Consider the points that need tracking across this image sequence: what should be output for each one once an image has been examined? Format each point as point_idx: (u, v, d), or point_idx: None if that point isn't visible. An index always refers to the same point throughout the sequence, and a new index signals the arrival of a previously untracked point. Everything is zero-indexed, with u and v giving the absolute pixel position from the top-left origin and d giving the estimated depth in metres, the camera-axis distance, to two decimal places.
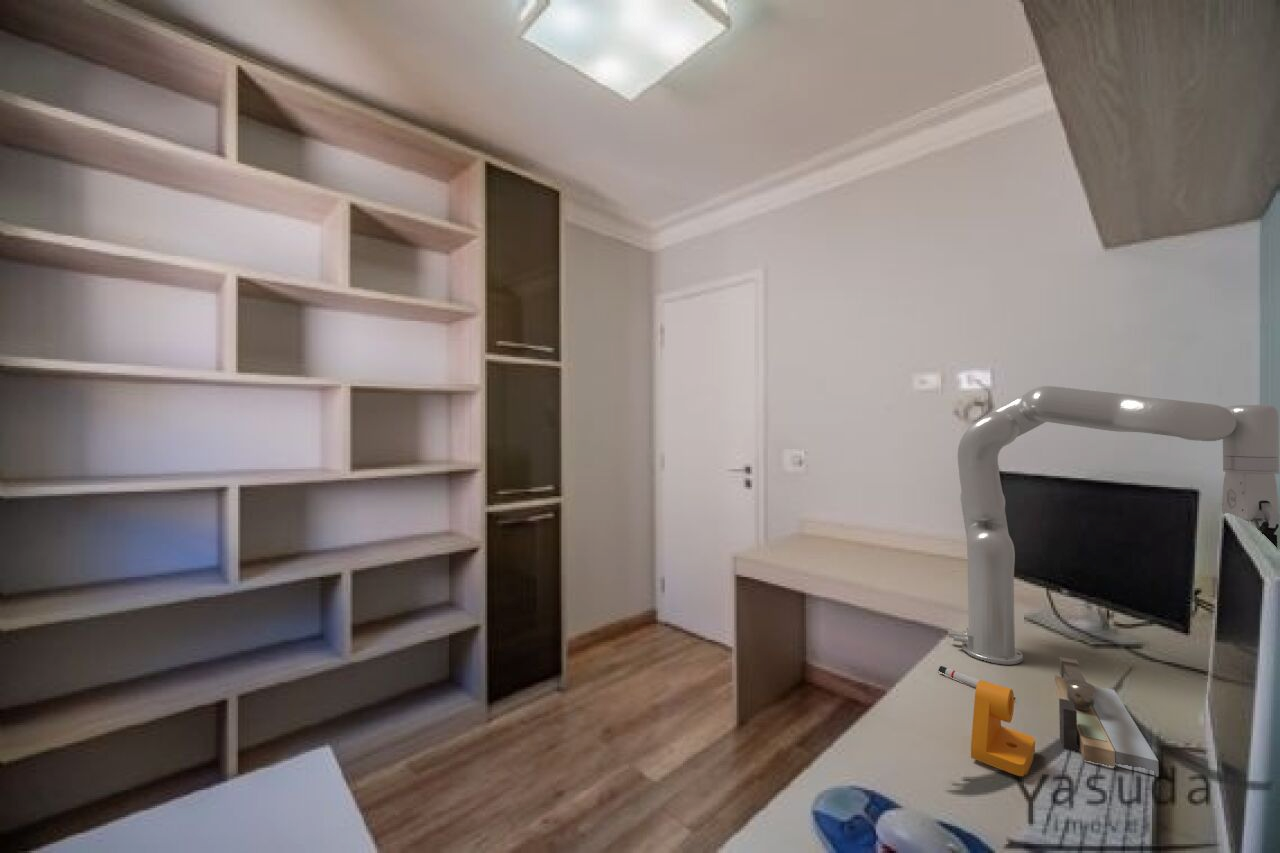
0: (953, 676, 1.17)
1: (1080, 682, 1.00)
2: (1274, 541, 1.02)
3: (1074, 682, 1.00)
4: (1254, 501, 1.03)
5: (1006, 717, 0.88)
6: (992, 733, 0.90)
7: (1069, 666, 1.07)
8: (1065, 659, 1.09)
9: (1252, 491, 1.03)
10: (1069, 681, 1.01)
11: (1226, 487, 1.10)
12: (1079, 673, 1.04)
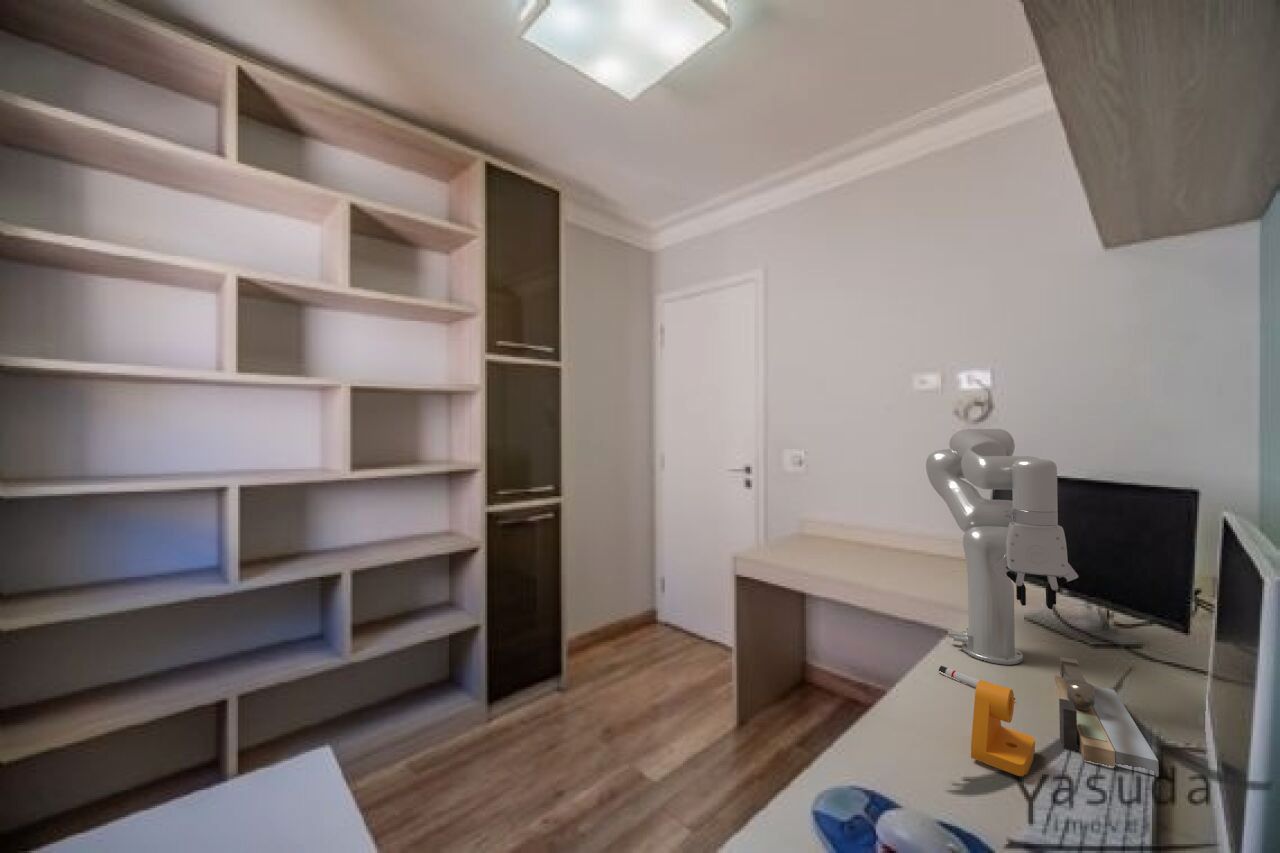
0: (953, 676, 1.17)
1: (1080, 682, 1.00)
2: None
3: (1074, 682, 1.00)
4: None
5: (1006, 717, 0.88)
6: (992, 733, 0.90)
7: (1069, 666, 1.07)
8: (1065, 659, 1.09)
9: None
10: (1069, 681, 1.01)
11: (1024, 543, 1.08)
12: (1079, 673, 1.04)
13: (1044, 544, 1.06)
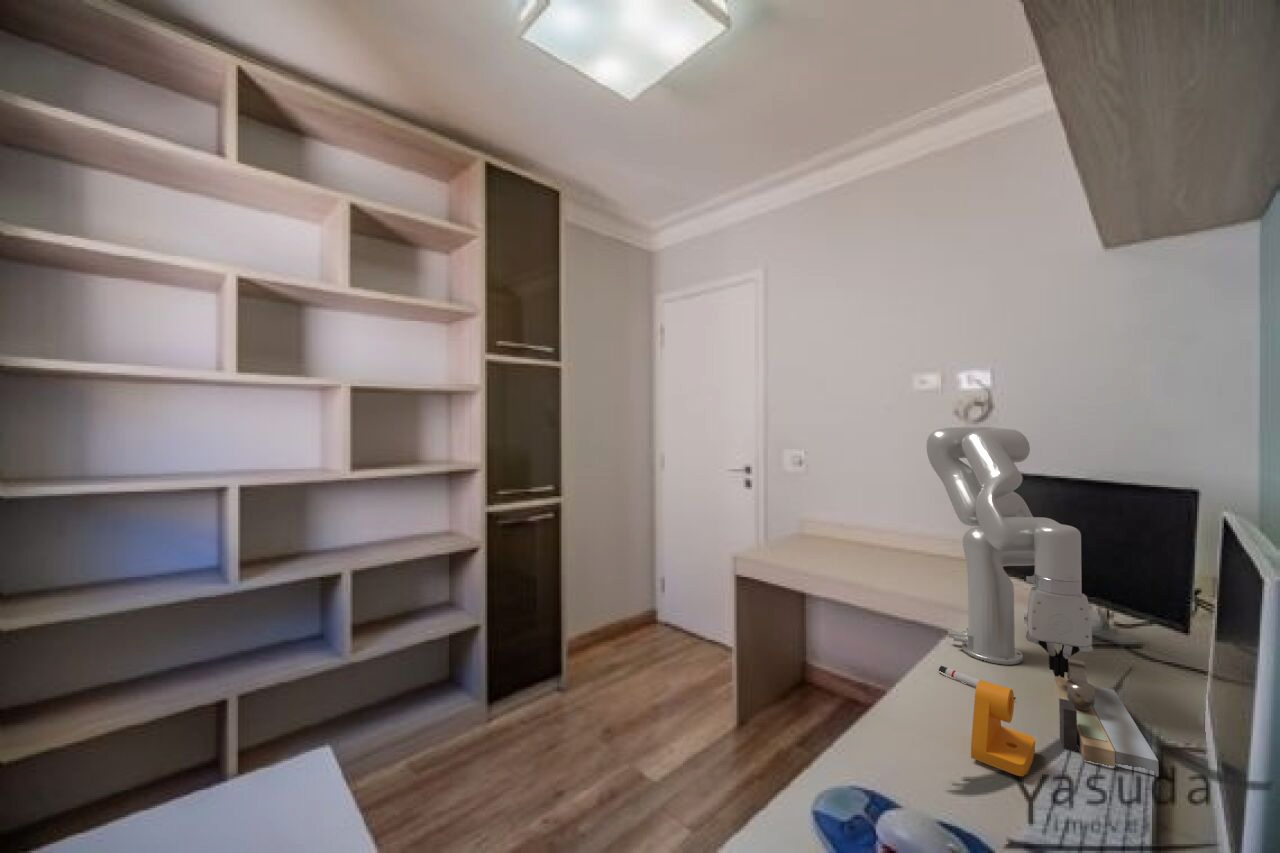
0: (953, 676, 1.17)
1: (1081, 682, 1.00)
2: None
3: (1074, 682, 1.00)
4: None
5: (1006, 717, 0.88)
6: (992, 733, 0.90)
7: (1074, 667, 1.07)
8: (1072, 660, 1.09)
9: None
10: (1069, 681, 1.01)
11: (1046, 611, 1.06)
12: (1083, 674, 1.04)
13: (1067, 614, 1.04)
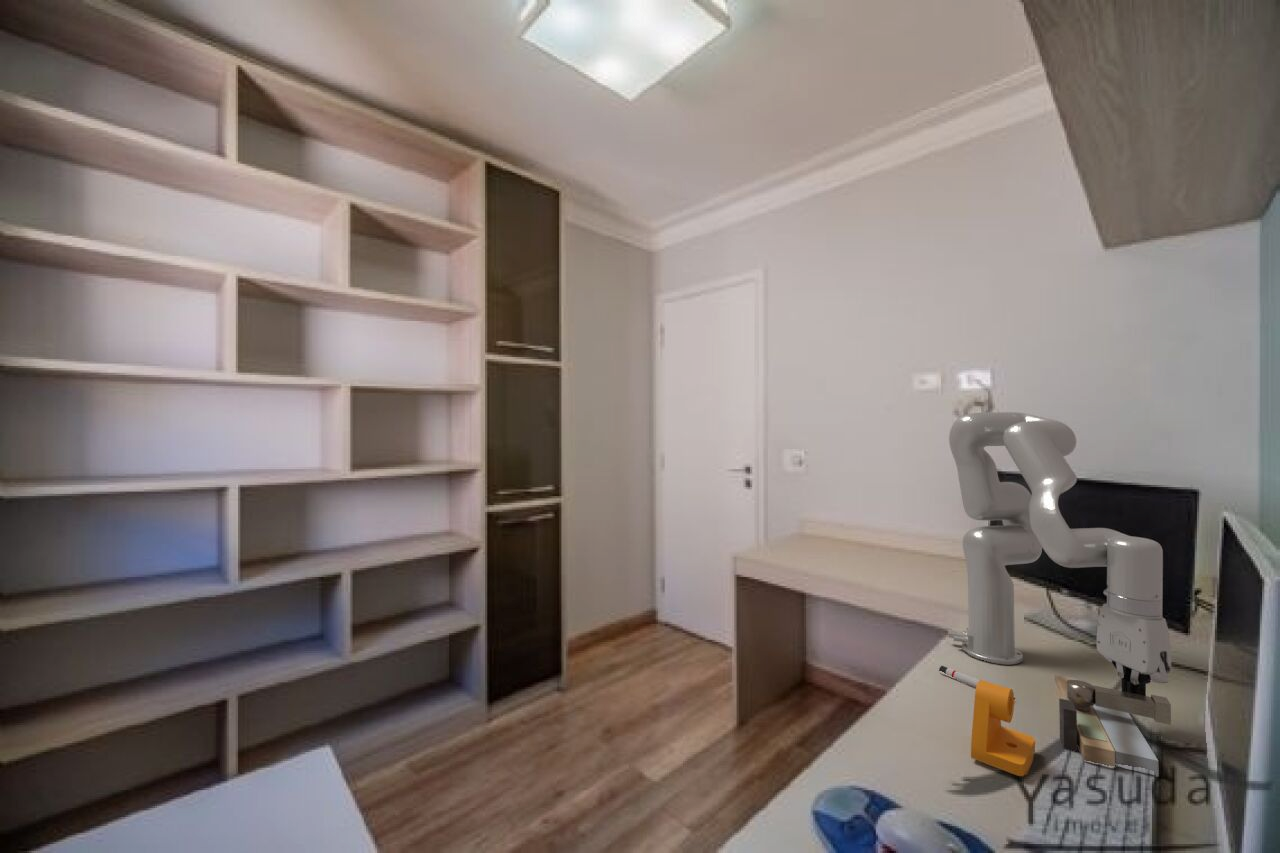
0: (953, 676, 1.17)
1: (1087, 686, 0.99)
2: None
3: (1083, 683, 1.00)
4: (1156, 653, 0.92)
5: (1006, 717, 0.88)
6: (992, 733, 0.90)
7: (1142, 697, 0.95)
8: (1160, 698, 0.94)
9: (1154, 641, 0.92)
10: (1082, 681, 1.00)
11: (1109, 626, 0.99)
12: (1122, 695, 0.95)
13: (1126, 633, 0.96)
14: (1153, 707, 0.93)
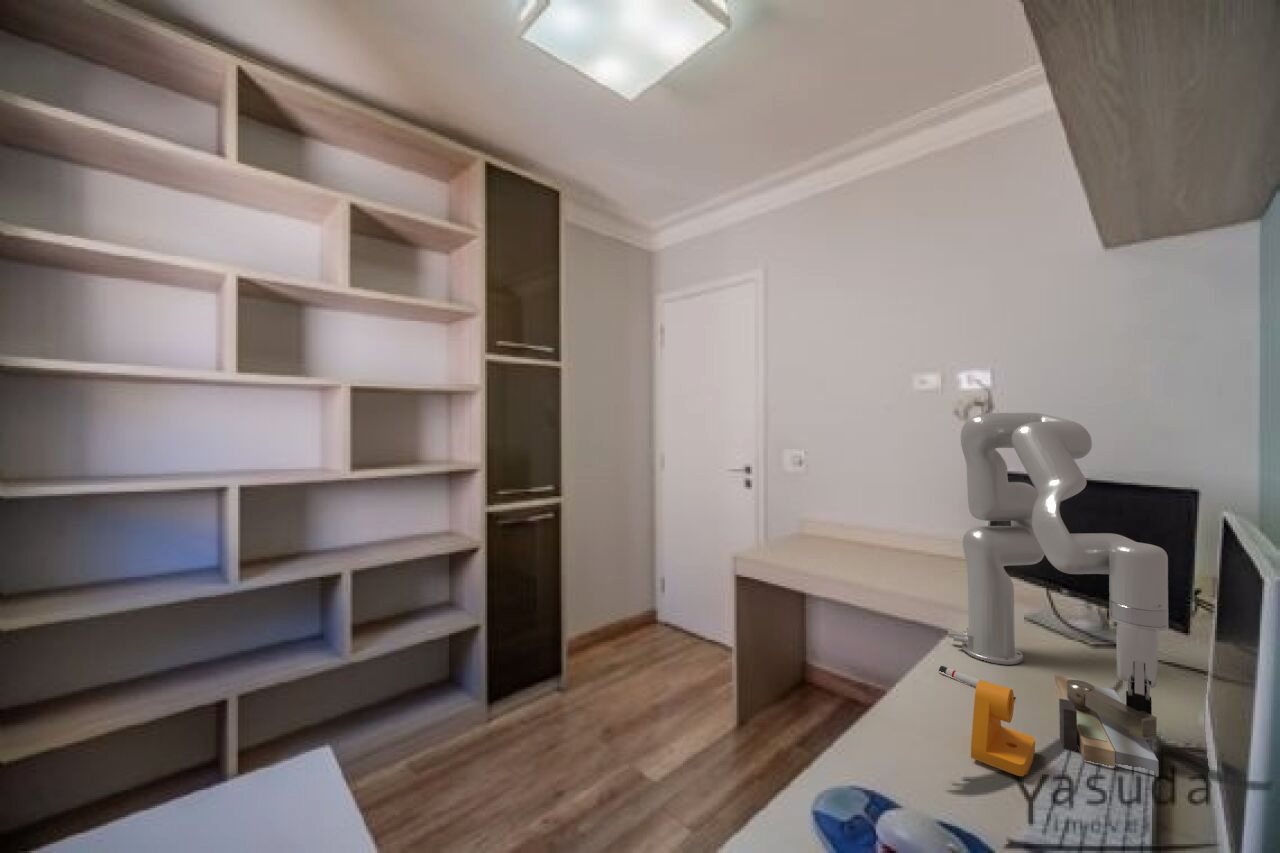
0: (953, 676, 1.17)
1: (1084, 687, 0.98)
2: (1148, 707, 0.91)
3: (1086, 685, 0.99)
4: (1128, 660, 0.89)
5: (1006, 717, 0.88)
6: (992, 733, 0.90)
7: (1130, 709, 0.91)
8: (1146, 714, 0.88)
9: (1126, 648, 0.89)
10: (1090, 685, 0.99)
11: None
12: (1107, 701, 0.93)
13: (1116, 639, 0.93)
14: (1129, 718, 0.89)
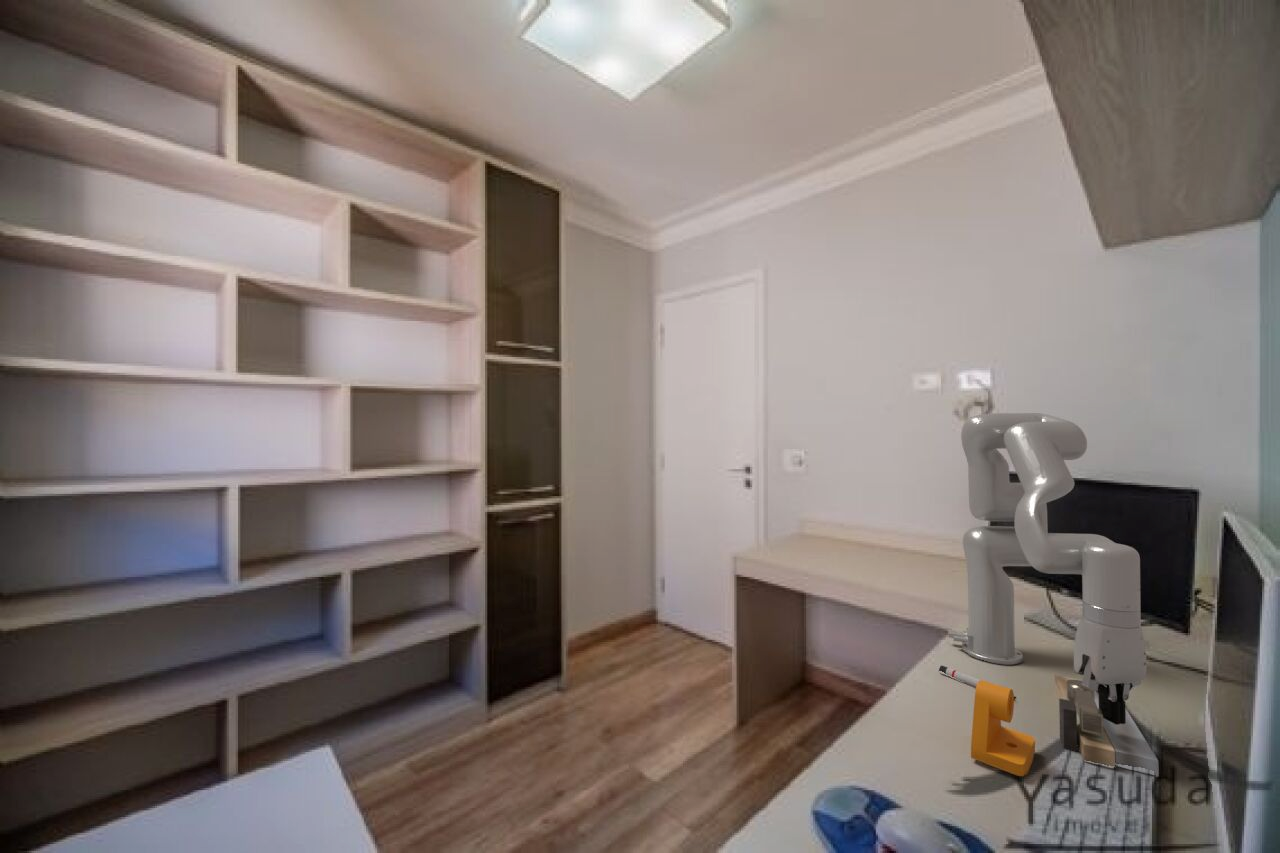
0: (954, 676, 1.17)
1: (1079, 686, 0.99)
2: (1115, 709, 0.90)
3: None
4: (1078, 653, 0.92)
5: (1006, 717, 0.88)
6: (992, 733, 0.90)
7: (1091, 706, 0.92)
8: (1095, 711, 0.90)
9: (1078, 641, 0.92)
10: None
11: None
12: (1079, 697, 0.95)
13: None
14: None
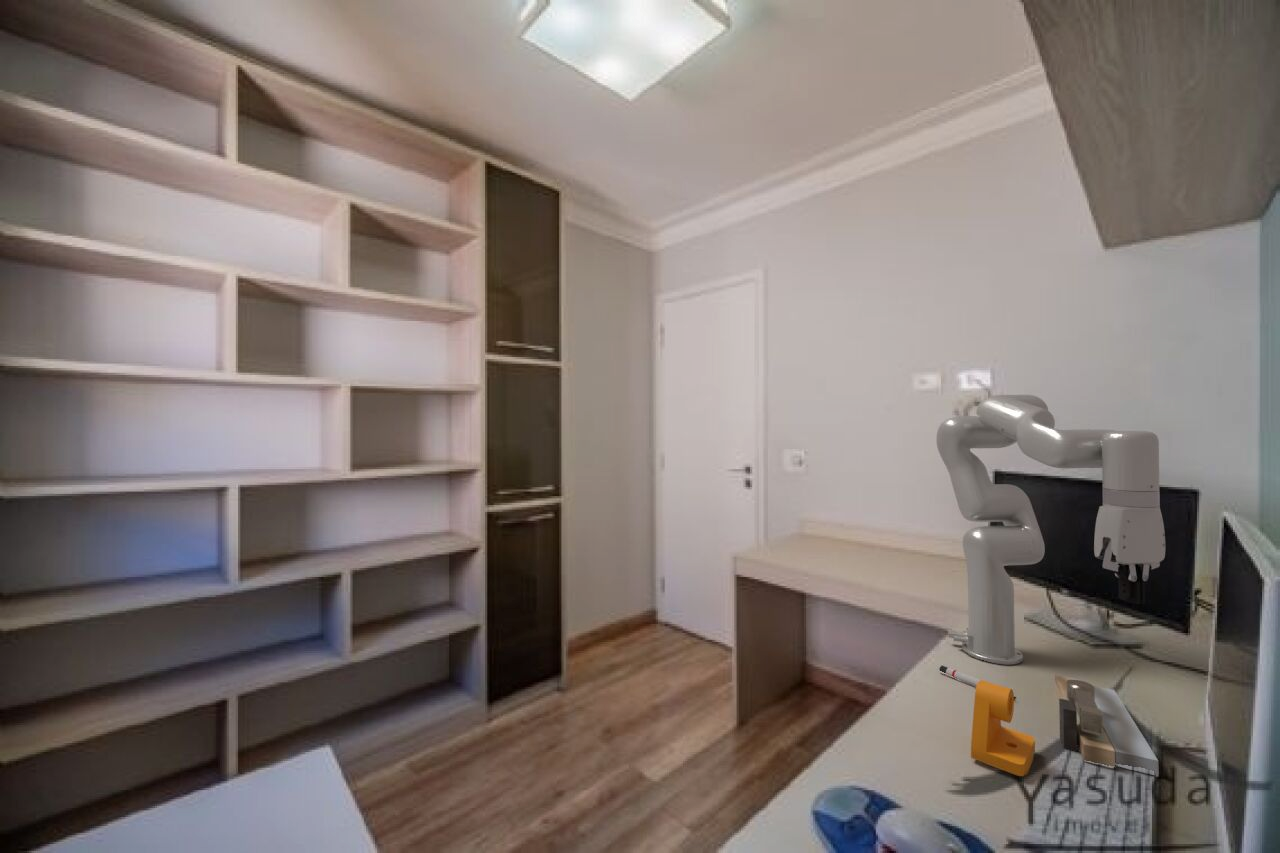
0: (954, 676, 1.17)
1: (1079, 686, 0.99)
2: (1135, 588, 0.93)
3: (1086, 686, 0.98)
4: (1099, 537, 0.95)
5: (1006, 717, 0.88)
6: (992, 733, 0.90)
7: (1090, 706, 0.92)
8: (1095, 711, 0.90)
9: (1098, 526, 0.95)
10: (1091, 687, 0.98)
11: None
12: (1079, 697, 0.95)
13: None
14: None
